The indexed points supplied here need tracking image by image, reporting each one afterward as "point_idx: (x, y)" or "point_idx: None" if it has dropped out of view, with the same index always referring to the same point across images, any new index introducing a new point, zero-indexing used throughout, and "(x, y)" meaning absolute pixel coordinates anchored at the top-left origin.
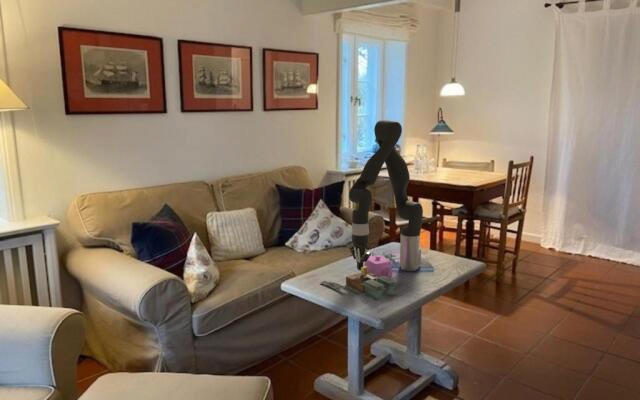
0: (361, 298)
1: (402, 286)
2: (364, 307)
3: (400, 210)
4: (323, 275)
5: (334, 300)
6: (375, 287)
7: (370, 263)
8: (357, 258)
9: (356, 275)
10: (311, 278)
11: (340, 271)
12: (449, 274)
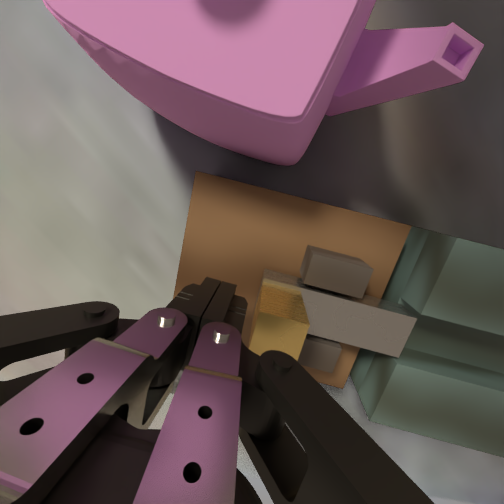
0: (354, 394)
1: (495, 101)
2: (419, 457)
3: None
4: (6, 280)
5: None
6: (487, 447)
7: (200, 104)
8: (154, 415)
9: None
10: None
11: (10, 165)
12: None
